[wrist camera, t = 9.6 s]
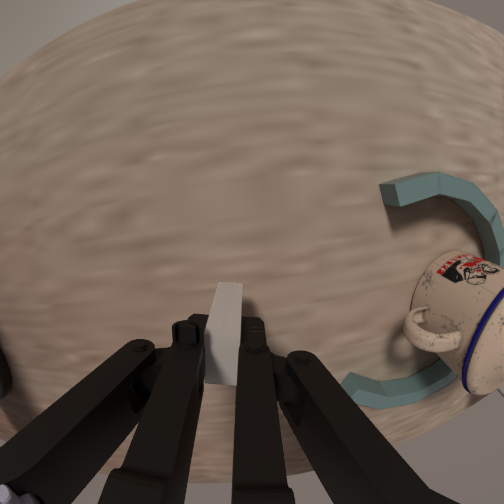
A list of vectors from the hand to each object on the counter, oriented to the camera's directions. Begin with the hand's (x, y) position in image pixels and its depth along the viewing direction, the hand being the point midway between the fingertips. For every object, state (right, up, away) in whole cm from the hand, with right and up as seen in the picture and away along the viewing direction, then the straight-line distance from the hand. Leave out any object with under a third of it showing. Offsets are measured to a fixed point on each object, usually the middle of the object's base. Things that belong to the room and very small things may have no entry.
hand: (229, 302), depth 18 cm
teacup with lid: (+17, -1, +3) cm, 17 cm away
